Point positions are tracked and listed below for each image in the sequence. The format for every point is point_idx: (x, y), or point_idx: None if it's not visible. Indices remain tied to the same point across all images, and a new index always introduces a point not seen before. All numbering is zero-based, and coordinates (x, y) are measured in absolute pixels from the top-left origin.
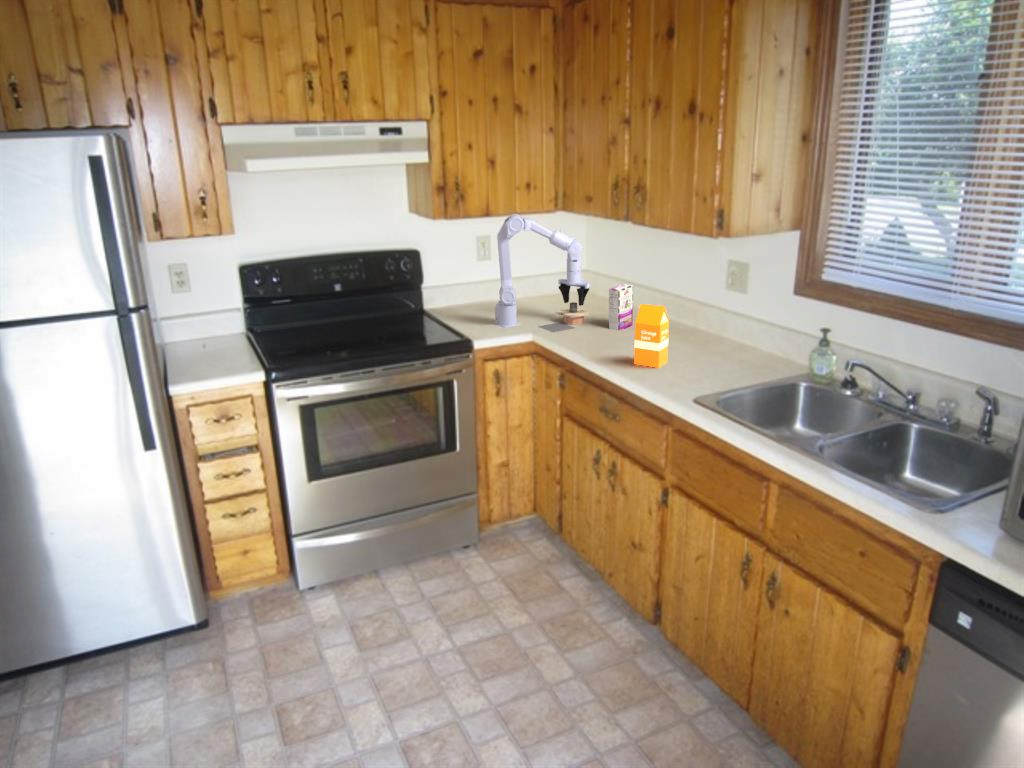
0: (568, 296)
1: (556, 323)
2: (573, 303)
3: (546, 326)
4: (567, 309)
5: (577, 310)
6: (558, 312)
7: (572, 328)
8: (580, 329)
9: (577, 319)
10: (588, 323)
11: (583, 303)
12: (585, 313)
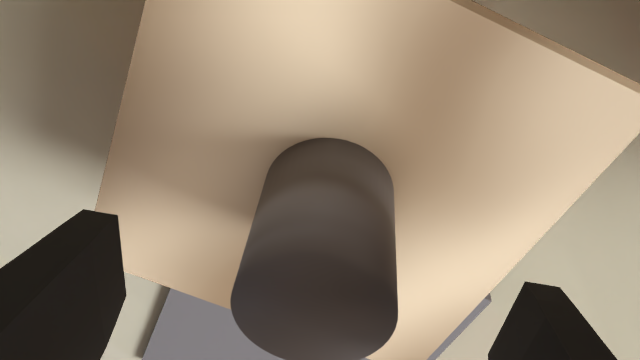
0: (36, 317)
1: None
2: (326, 327)
3: (202, 345)
4: (129, 89)
5: (341, 77)
6: (142, 271)
7: (463, 325)
8: None
9: None
10: (554, 28)
11: (574, 314)
12: (575, 199)
